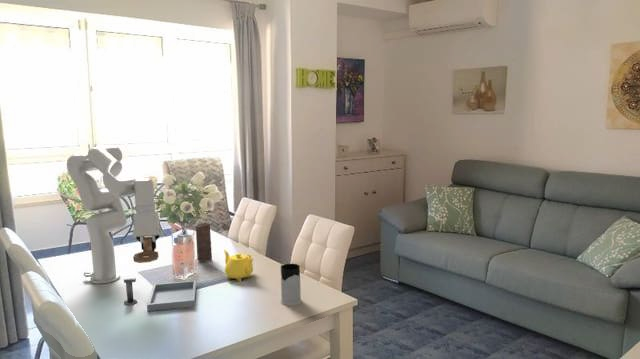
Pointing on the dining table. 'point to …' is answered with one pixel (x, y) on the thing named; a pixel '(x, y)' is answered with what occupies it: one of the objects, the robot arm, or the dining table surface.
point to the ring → (146, 252)
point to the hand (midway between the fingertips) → (149, 250)
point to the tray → (172, 296)
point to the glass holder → (290, 285)
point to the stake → (129, 291)
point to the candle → (203, 242)
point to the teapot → (238, 266)
